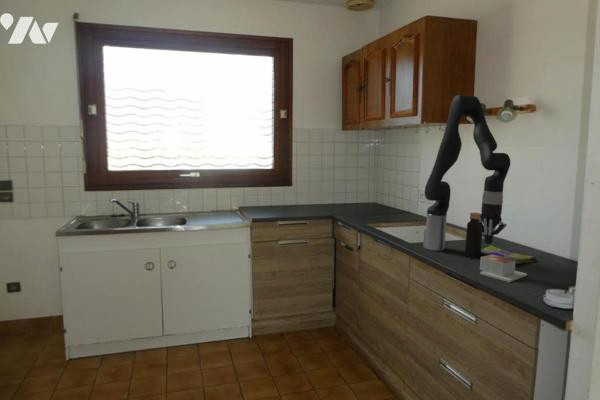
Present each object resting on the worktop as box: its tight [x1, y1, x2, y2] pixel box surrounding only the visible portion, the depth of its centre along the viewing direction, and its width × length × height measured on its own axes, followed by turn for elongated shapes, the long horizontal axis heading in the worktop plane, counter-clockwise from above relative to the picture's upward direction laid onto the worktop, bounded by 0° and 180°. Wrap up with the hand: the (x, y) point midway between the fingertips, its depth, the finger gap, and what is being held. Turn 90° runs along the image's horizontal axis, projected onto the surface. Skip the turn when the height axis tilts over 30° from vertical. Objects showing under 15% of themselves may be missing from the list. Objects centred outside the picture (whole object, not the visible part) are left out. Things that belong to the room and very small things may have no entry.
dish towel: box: [480, 244, 538, 266], centre depth 199 cm, size 18×24×3 cm
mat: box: [479, 270, 528, 283], centre depth 172 cm, size 12×14×1 cm
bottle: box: [464, 212, 483, 258], centre depth 199 cm, size 7×7×20 cm
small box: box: [479, 254, 516, 277], centre depth 173 cm, size 8×6×10 cm
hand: (488, 243), depth 177 cm, fingers closed
